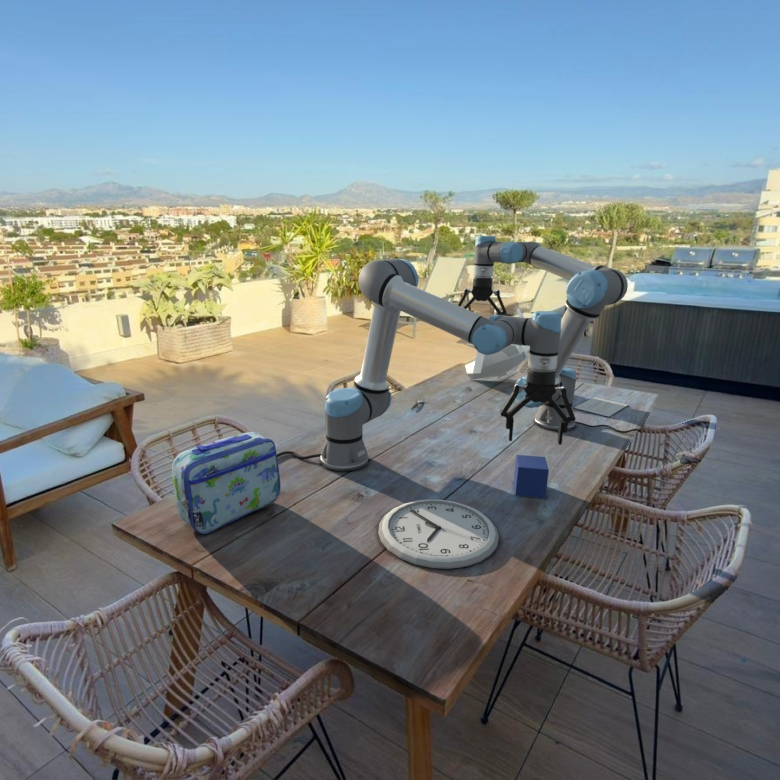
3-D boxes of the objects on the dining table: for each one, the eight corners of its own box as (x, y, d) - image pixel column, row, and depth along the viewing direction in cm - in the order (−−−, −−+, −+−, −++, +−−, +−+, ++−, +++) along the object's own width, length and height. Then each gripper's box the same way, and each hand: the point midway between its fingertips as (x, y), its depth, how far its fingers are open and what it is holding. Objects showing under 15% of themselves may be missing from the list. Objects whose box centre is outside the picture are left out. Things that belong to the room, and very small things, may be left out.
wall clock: (515, 560, 118) (382, 565, 115) (514, 566, 118) (382, 571, 116) (482, 494, 146) (374, 497, 144) (481, 500, 147) (374, 502, 144)
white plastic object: (486, 421, 262) (466, 398, 237) (467, 348, 284) (447, 320, 260) (558, 397, 250) (545, 370, 225) (533, 322, 272) (517, 290, 247)
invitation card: (608, 416, 214) (573, 407, 224) (608, 416, 214) (573, 408, 224) (628, 404, 229) (594, 396, 238) (628, 405, 229) (594, 397, 238)
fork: (408, 410, 218) (408, 405, 217) (419, 398, 232) (419, 394, 231) (414, 410, 217) (414, 406, 216) (425, 399, 231) (425, 395, 231)
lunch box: (192, 543, 125) (183, 462, 118) (173, 525, 132) (164, 448, 126) (285, 505, 142) (281, 433, 136) (263, 491, 149) (259, 422, 143)
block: (515, 495, 150) (518, 467, 147) (513, 481, 158) (516, 454, 155) (545, 498, 149) (548, 469, 146) (542, 484, 157) (545, 456, 154)
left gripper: (495, 369, 141) (490, 442, 147) (592, 375, 137) (582, 449, 143) (495, 363, 148) (489, 433, 154) (587, 367, 144) (578, 439, 150)
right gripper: (450, 276, 202) (447, 330, 209) (516, 278, 199) (511, 333, 205) (451, 275, 209) (448, 327, 216) (515, 277, 206) (510, 330, 212)
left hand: (534, 441), depth 148 cm, fingers open, 13 cm apart
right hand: (479, 330), depth 210 cm, fingers open, 13 cm apart
